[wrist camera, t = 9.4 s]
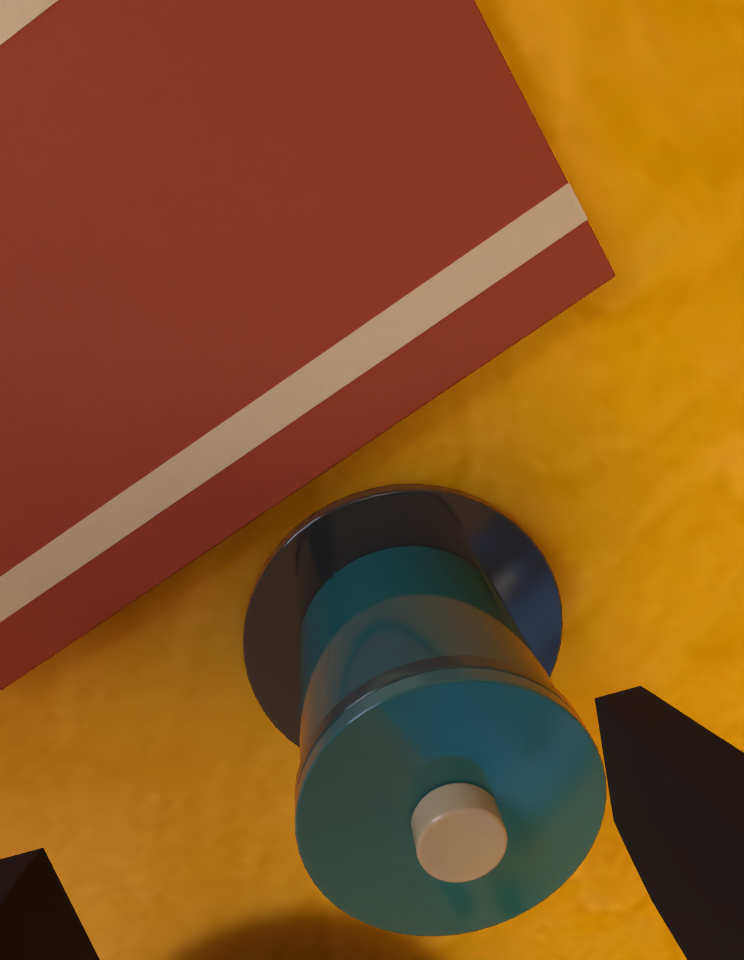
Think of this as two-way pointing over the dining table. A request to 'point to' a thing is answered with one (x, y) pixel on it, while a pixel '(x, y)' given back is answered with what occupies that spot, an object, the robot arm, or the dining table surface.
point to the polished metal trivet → (372, 528)
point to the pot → (435, 751)
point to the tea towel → (242, 268)
